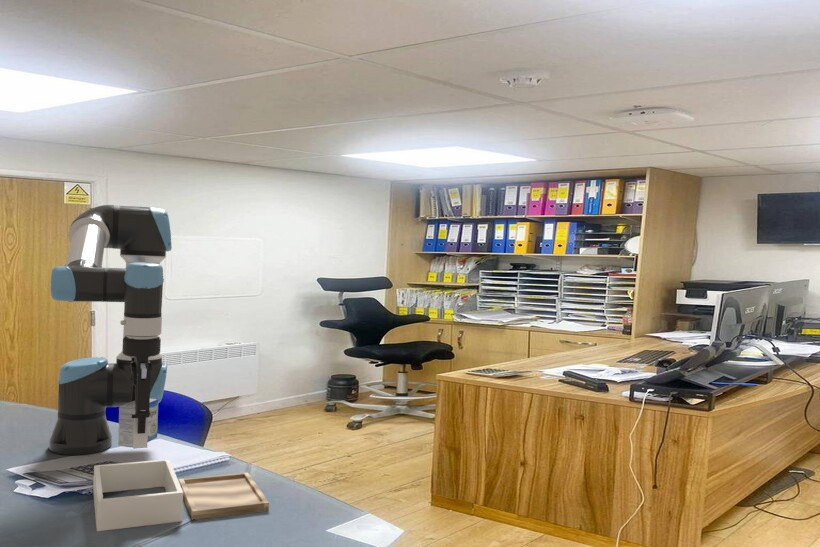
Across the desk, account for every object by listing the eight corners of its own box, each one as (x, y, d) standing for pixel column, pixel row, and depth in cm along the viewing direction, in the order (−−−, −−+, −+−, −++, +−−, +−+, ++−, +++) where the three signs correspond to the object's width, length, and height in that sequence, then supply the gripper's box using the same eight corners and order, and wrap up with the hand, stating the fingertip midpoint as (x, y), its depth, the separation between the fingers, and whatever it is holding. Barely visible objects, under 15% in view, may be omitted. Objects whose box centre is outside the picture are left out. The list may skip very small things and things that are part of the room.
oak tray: (178, 486, 163) (178, 478, 163) (247, 479, 170) (247, 472, 170) (192, 519, 145) (192, 511, 145) (268, 510, 152) (268, 502, 152)
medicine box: (136, 448, 146) (138, 407, 146) (117, 446, 147) (118, 405, 146) (157, 438, 154) (159, 399, 153) (139, 435, 155) (140, 396, 154)
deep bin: (93, 491, 157) (94, 465, 157) (168, 484, 164) (169, 459, 164) (96, 531, 138) (97, 501, 137) (182, 521, 145) (183, 492, 144)
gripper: (119, 328, 157) (116, 427, 158) (126, 345, 138) (122, 458, 139) (155, 328, 160) (151, 425, 162) (167, 344, 141) (162, 455, 143)
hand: (138, 440), depth 150 cm, fingers closed on medicine box, 9 cm apart
